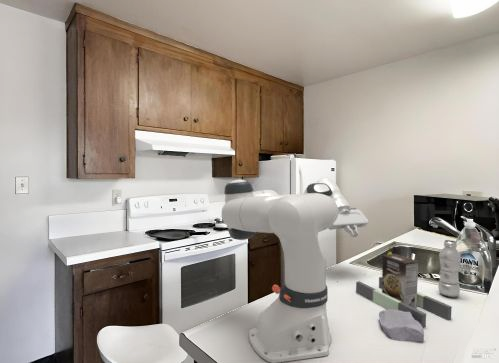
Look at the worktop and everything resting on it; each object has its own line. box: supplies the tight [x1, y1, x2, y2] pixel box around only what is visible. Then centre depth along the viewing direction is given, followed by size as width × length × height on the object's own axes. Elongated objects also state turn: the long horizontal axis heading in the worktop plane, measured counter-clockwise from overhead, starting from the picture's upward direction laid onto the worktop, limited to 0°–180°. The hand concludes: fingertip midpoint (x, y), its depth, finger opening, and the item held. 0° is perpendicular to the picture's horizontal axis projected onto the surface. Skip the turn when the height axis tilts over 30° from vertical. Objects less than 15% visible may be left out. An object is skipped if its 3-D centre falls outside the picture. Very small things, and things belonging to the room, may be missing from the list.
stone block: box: [378, 309, 425, 343], centre depth 81 cm, size 12×5×10 cm
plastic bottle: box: [437, 239, 462, 298], centre depth 103 cm, size 6×7×20 cm
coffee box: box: [381, 253, 419, 309], centre depth 96 cm, size 9×6×16 cm
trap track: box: [355, 276, 453, 329], centre depth 96 cm, size 13×26×4 cm, turn 23°
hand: (355, 235), depth 115 cm, fingers closed
